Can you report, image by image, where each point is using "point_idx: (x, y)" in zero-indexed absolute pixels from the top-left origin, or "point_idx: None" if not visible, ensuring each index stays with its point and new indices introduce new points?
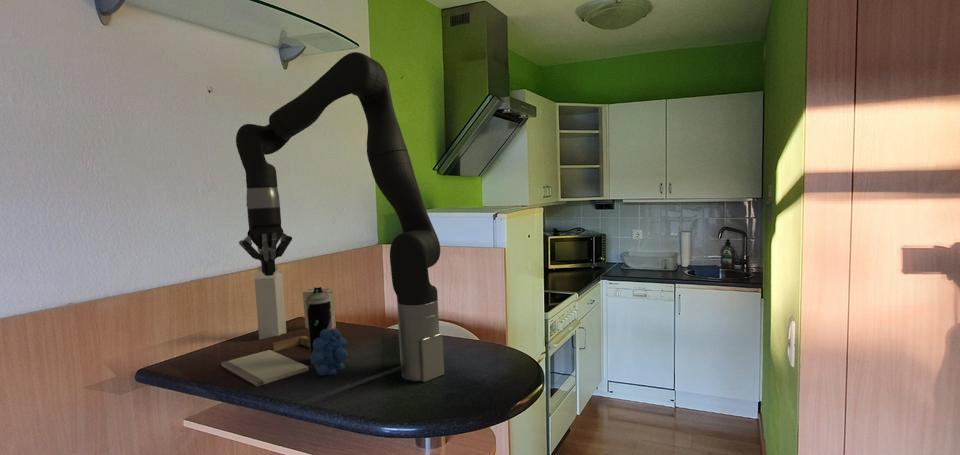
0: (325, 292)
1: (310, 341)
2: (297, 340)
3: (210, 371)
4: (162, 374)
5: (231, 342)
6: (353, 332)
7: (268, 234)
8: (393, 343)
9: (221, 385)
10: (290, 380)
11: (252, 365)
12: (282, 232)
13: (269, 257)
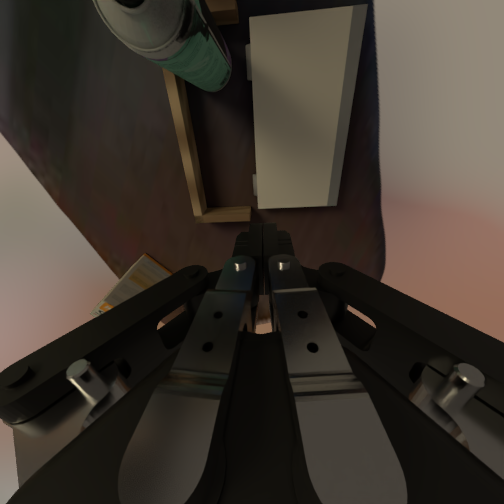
0: (108, 300)
1: (222, 45)
2: (208, 213)
3: (340, 216)
4: (380, 254)
5: (266, 308)
6: (112, 225)
7: (248, 497)
8: (49, 93)
9: (367, 131)
10: None
11: (315, 142)
12: (16, 501)
13: (256, 279)
